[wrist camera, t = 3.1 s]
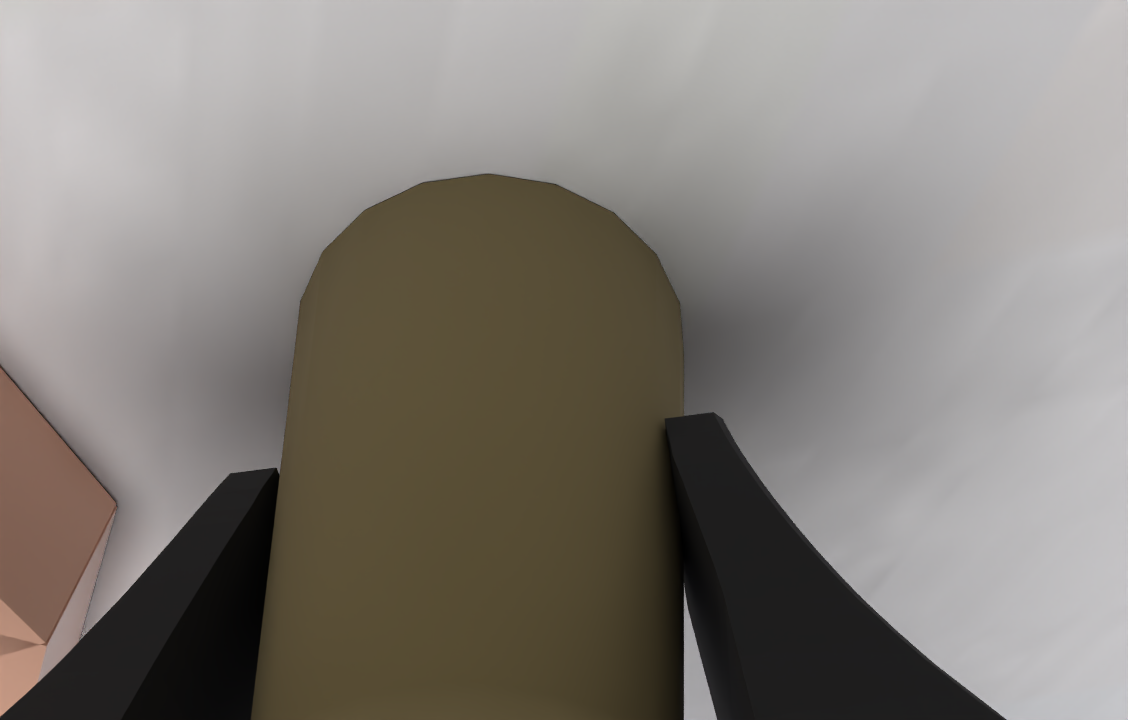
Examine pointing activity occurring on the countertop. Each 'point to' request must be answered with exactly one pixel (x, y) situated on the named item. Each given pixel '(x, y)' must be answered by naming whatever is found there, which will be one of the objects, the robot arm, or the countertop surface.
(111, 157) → the countertop surface
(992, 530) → the countertop surface
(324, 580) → the olive knobbed peg
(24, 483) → the octagonal tray
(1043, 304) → the countertop surface
